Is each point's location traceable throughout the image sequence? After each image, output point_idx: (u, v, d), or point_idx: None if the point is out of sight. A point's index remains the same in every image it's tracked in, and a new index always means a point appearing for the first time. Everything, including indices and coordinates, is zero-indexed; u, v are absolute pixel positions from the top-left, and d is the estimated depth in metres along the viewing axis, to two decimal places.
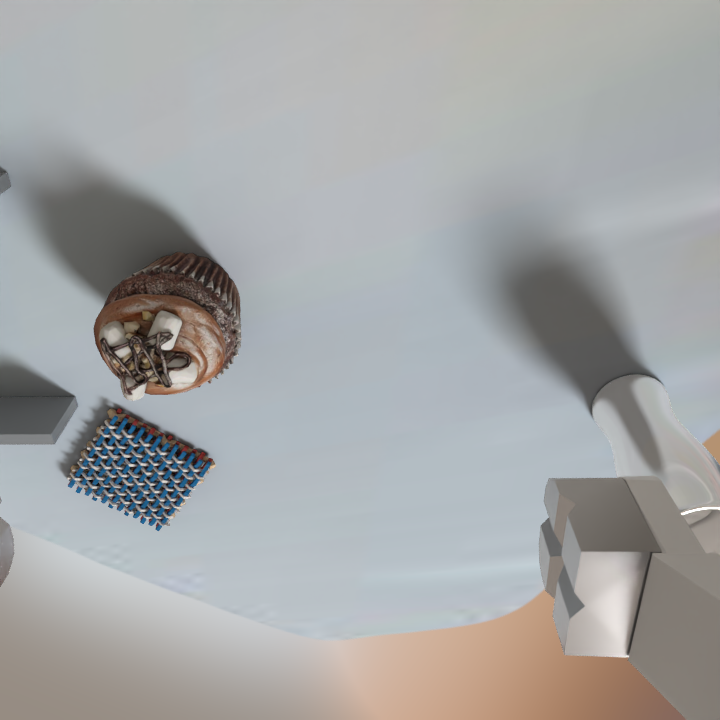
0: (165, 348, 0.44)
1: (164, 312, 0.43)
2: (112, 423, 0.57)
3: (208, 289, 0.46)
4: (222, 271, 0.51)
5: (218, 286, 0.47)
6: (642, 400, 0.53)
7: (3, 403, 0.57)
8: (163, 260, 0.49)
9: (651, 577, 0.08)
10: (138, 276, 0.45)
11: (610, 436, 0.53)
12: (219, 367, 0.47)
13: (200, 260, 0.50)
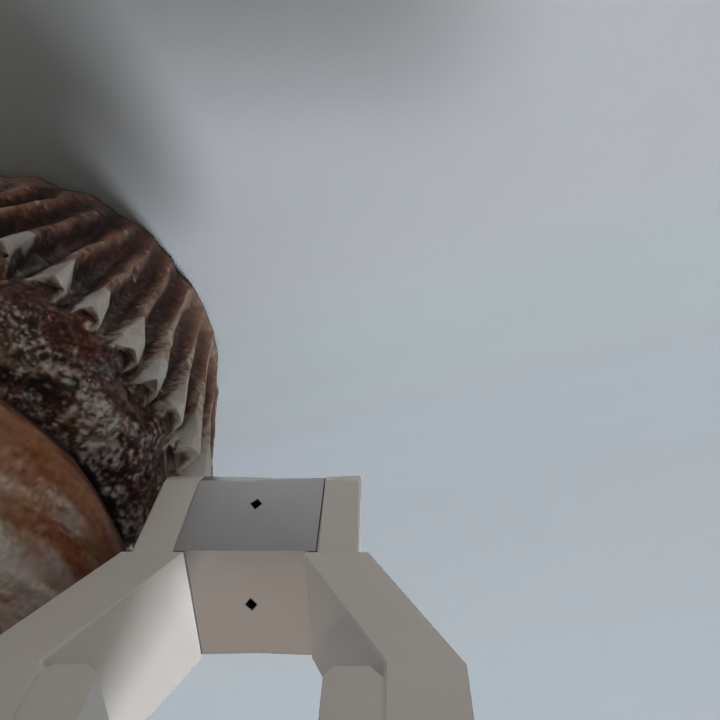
0: None
1: None
2: None
3: (38, 291, 0.09)
4: (152, 247, 0.13)
5: (106, 286, 0.10)
6: None
7: None
8: None
9: (307, 576, 0.08)
10: None
11: None
12: None
13: (58, 196, 0.12)
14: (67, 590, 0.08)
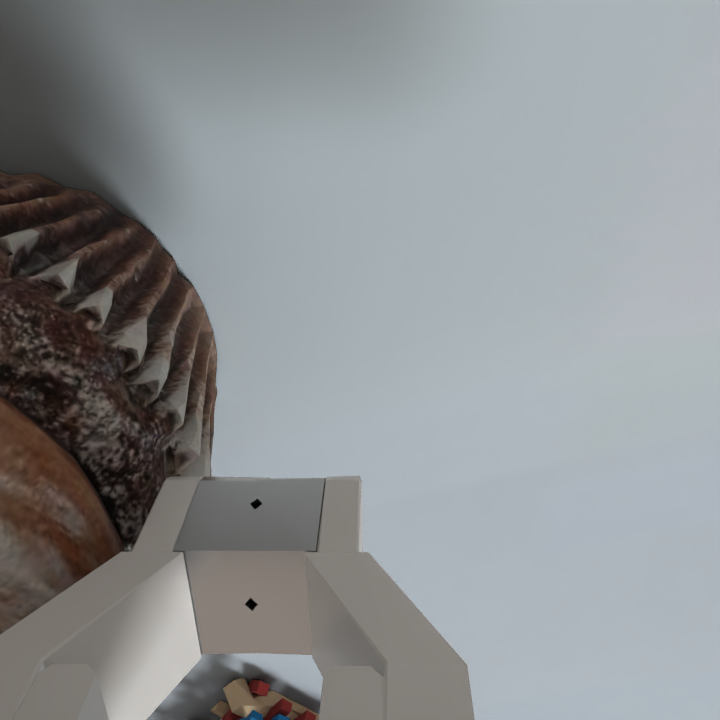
0: None
1: None
2: None
3: (41, 290, 0.09)
4: (153, 246, 0.13)
5: (108, 286, 0.10)
6: None
7: None
8: None
9: (308, 576, 0.08)
10: None
11: None
12: None
13: (60, 194, 0.12)
14: (67, 590, 0.08)
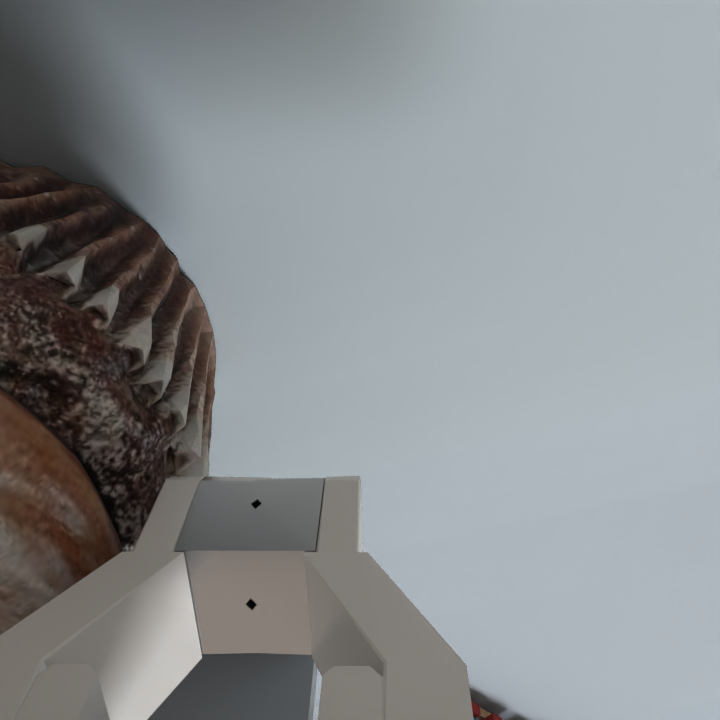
0: None
1: None
2: None
3: (49, 286, 0.09)
4: (157, 244, 0.13)
5: (115, 284, 0.10)
6: None
7: None
8: None
9: (307, 576, 0.08)
10: None
11: None
12: None
13: (66, 188, 0.12)
14: (68, 590, 0.08)
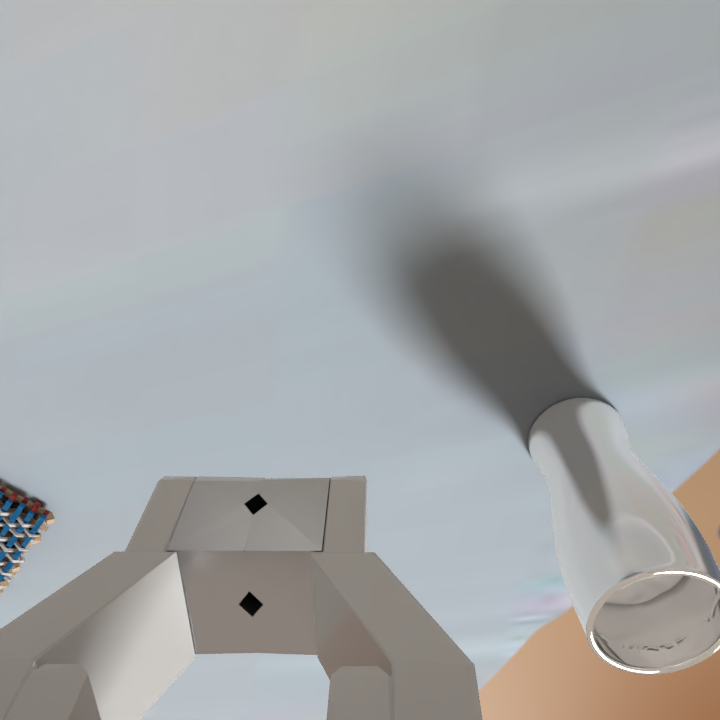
0: None
1: None
2: None
3: None
4: None
5: None
6: (588, 429, 0.40)
7: None
8: None
9: (313, 576, 0.08)
10: None
11: (547, 477, 0.40)
12: None
13: None
14: (60, 590, 0.08)
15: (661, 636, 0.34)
